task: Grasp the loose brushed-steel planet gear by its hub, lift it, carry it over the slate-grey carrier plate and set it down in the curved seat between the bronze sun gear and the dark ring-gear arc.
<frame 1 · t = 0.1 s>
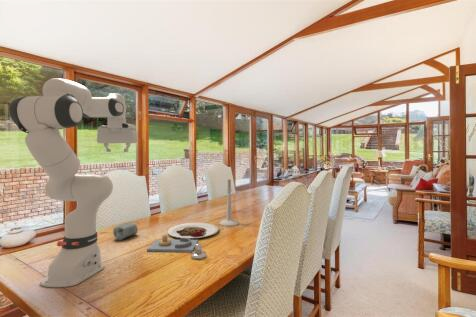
hand: (117, 152, 138), 48 cm above the table, fingers open, 8 cm apart
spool: (125, 237, 147), on the table
plated food: (193, 232, 157), on the table
planet gear: (198, 256, 120), on the table
grey rod on disc: (229, 223, 175), on the table
carrier: (173, 246, 133), on the table
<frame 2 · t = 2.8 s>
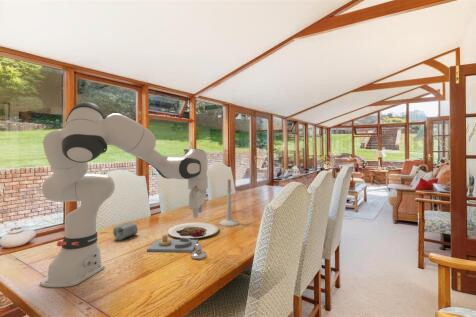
hand: (197, 215, 120), 19 cm above the table, fingers open, 8 cm apart
nothing on the table moved.
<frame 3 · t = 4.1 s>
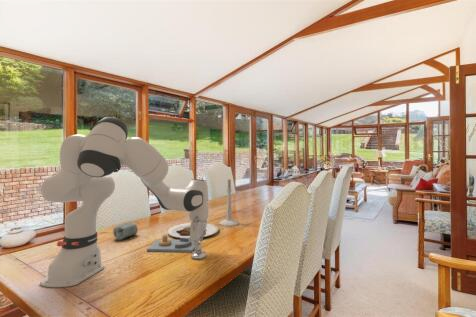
hand: (198, 244, 120), 6 cm above the table, fingers open, 8 cm apart
nothing on the table moved.
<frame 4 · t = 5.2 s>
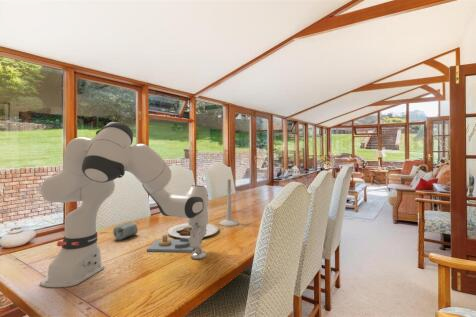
hand: (198, 250, 120), 3 cm above the table, fingers closed on planet gear, 3 cm apart
planet gear: (198, 256, 120), on the table, touching gripper
everything else where it was.
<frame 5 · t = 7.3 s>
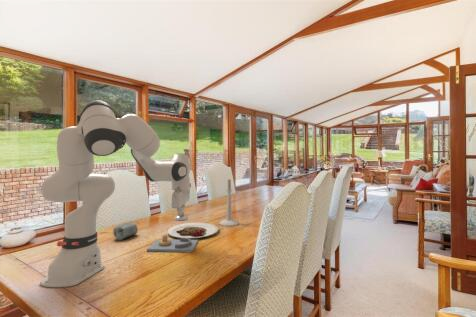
hand: (180, 213, 132), 17 cm above the table, fingers closed on planet gear, 3 cm apart
planet gear: (181, 219, 132), point 14 cm above the table, touching gripper
everything else where it was.
when the fingers open (5 cm above the table, at t = 9.3 s): planet gear stays where it is, resting on carrier.
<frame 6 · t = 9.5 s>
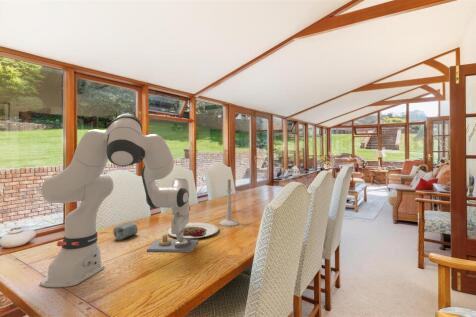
hand: (180, 237, 133), 5 cm above the table, fingers open, 5 cm apart
planet gear: (180, 244, 133), point 1 cm above the table, touching carrier
everything else where it was.
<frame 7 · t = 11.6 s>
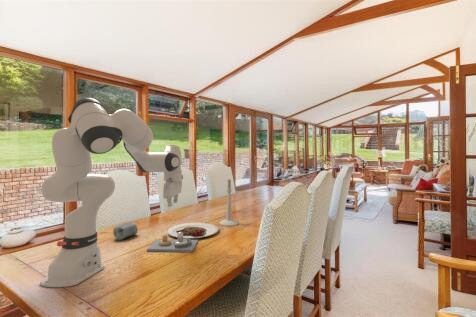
hand: (172, 204, 133), 21 cm above the table, fingers open, 8 cm apart
nothing on the table moved.
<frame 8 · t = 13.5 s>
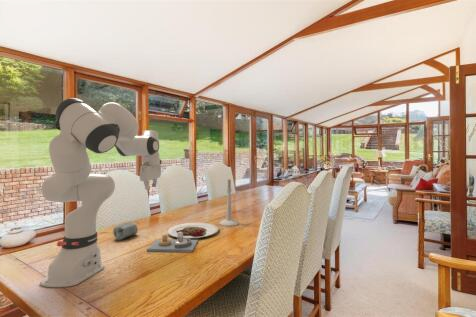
hand: (150, 188, 137), 29 cm above the table, fingers open, 8 cm apart
nothing on the table moved.
at the end: planet gear 0.1 cm from the target spot on the carrier, point 1.3 cm above the carrier's base; planet gear tilted 1°; the gripper is holding nothing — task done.
